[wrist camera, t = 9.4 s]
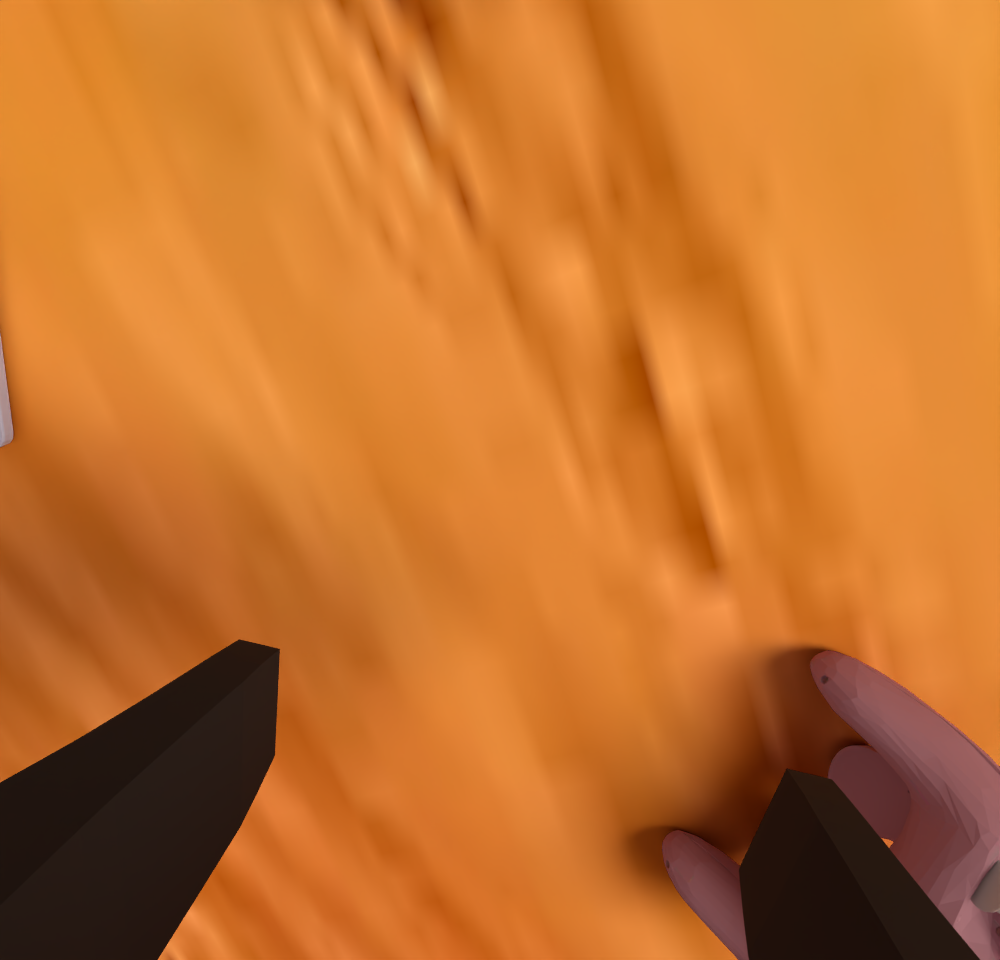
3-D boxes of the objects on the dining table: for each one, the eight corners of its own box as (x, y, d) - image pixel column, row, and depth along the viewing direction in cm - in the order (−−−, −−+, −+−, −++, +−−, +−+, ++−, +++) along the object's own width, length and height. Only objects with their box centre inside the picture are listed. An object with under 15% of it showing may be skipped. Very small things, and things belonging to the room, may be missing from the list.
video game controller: (736, 840, 24) (881, 1083, 18) (640, 846, 22) (770, 1122, 16) (911, 646, 20) (1166, 878, 14) (813, 631, 18) (1067, 895, 12)
